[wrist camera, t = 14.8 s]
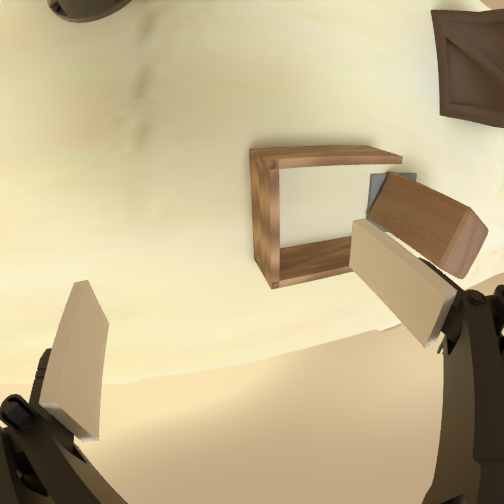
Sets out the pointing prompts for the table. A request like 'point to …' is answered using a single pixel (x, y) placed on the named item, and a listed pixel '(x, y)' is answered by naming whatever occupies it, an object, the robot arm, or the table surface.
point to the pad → (375, 188)
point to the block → (430, 223)
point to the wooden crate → (471, 64)
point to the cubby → (268, 216)
